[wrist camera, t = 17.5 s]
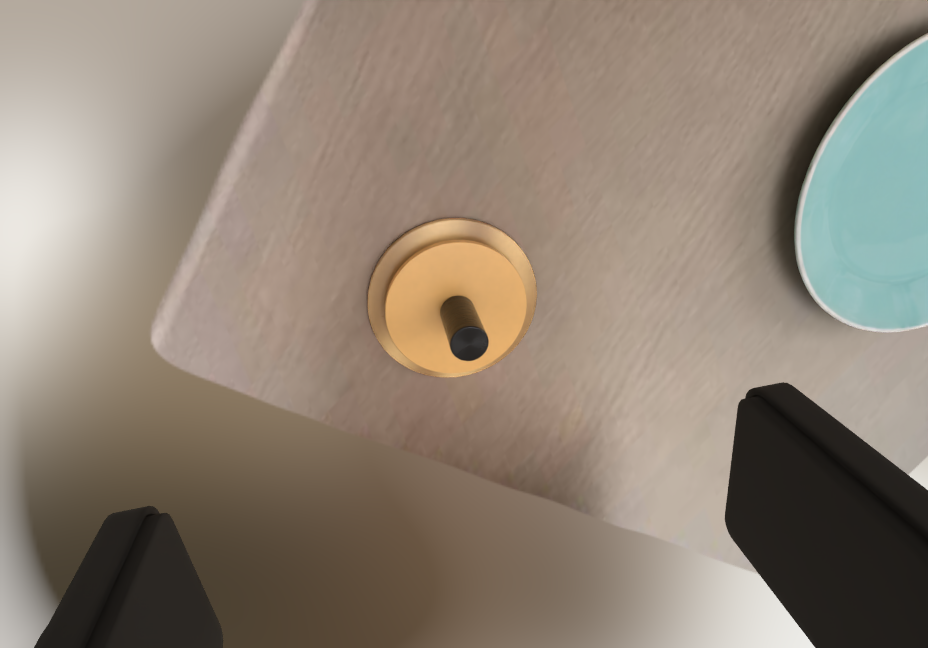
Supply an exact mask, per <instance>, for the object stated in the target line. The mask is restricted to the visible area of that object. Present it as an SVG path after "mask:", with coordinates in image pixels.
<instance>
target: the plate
mask: <svg viewBox="0 0 928 648" xmlns="http://www.w3.org/2000/svg"><path fill="white" fill-rule="evenodd" d="M794 244H795V255H796V260H797V265H798V269H799V272H800V275H801V277H802V280H803V282H804V284H805V286H806V288H807V290H808V292H809V293H810V295H811V296H812V297H813V299H814V300H815V302H816V303H817V304H818V305H819V306H820V307H821V308H822V309H823V310H824V311H826V312H827V313H828V314H829V315H831V316H832V317H834V318H835V319H837V320H838V321H840V322H842V323H844V324H846V325H849V326H851V327H854V328H857V329H861V330H865V331H871V332H883V333H886V332H902V331H908V330H913V329H917V328H921V327H925V326H928V33H927V34H925V35H923V36H921V37H919V38H918V39H916V40H914V41H913V42H911V43H910V44H908V45H907V46H905V47H904V48H903V49H901V50H900V51H898V52H897V53H896V54H894V55H893V56H892V57H891V58H889V59H888V60H887V61H886V62H885V63H884V64H882V65H881V66H880V67H879V68H878V69H877V70H876V71H875V72H874V73H873V74H872V75H871V76H869V77H868V78H867V80H866V81H865V82H864V83H863V84H862V85H861V86H860V87H859V88H858V89H857V90H856V91H855V93H854V94H853V95H852V96H851V97H850V99H849V100H848V101H847V102H846V104H845V105H844V106H843V108H842V109H841V110H840V112H839V113H838V115H837V116H836V118H835V119H834V121H833V122H832V124H831V125H830V127H829V129H828V130H827V132H826V134H825V135H824V137H823V139H822V140H821V142H820V144H819V146H818V148H817V150H816V152H815V154H814V156H813V159H812V161H811V163H810V166H809V168H808V171H807V173H806V176H805V180H804V182H803V185H802V188H801V192H800V196H799V200H798V205H797V210H796V217H795V227H794Z"/></svg>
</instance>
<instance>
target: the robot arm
mask: <svg viewBox="0 0 928 648" xmlns="http://www.w3.org/2000/svg"><path fill="white" fill-rule="evenodd" d="M725 522H726V526H727V529H728V532H729V534H730V536H731V537H732V539H733V540H734V542H735V543H736V544H737V546H738V547H739V548H740V550H741V551H742V552H743V554H744V555H745V556H746V557H747V559H748V560H749V561H750V563H751V564H752V565H753V567H754V568H755V569H756V571H757V572H758V573H759V574H760V576H761V577H762V578H763V579H764V581H765V582H766V583H767V585H768V586H769V587H770V589H771V590H772V591H773V593H774V594H775V595H776V597H777V598H778V599H779V601H780V602H781V603H782V604H783V606H784V607H785V608H786V610H787V611H788V612H789V614H790V615H791V616H792V618H793V619H794V620H795V622H796V623H797V624H798V625H799V627H800V628H801V629H802V631H803V632H804V633H805V634H806V636H807V637H808V639H809V640H810V641H811V642H812V644H813V645H814V646H815V648H928V490H926V489H925V488H924V487H923V486H921V485H920V484H919V483H918V482H916V481H915V480H914V479H912V478H911V477H910V476H909V475H907V474H906V473H905V472H903V471H902V470H901V469H899V468H898V467H897V466H896V465H894V464H893V463H892V462H890V461H889V460H888V459H887V458H885V457H884V456H883V455H881V454H880V453H879V452H877V451H876V450H875V449H874V448H872V447H871V446H870V445H868V444H867V443H866V442H865V441H863V440H862V439H861V438H859V437H858V436H857V435H856V434H854V433H853V432H852V431H850V430H849V429H848V428H846V427H845V426H844V425H843V424H841V423H840V422H839V421H837V420H836V419H835V418H834V417H832V416H831V415H830V414H828V413H827V412H826V411H825V410H823V409H822V408H821V407H819V406H818V405H817V404H815V403H814V402H813V401H812V400H810V399H809V398H808V397H806V396H805V395H804V394H803V393H801V392H800V391H799V390H797V389H796V388H795V387H793V386H792V385H790V384H788V383H777V384H772V385H767V386H762V387H757V388H753V389H750V390H749V391H748V392H747V394H746V398H745V399H743V400H741V401H740V402H739V405H738V411H737V419H736V427H735V436H734V444H733V453H732V461H731V469H730V478H729V486H728V494H727V503H726V511H725ZM34 648H223V635H222V630H221V626H220V623H219V621H218V619H217V617H216V615H215V612H214V610H213V608H212V606H211V604H210V602H209V599H208V597H207V595H206V593H205V590H204V588H203V586H202V584H201V581H200V579H199V577H198V575H197V573H196V570H195V568H194V566H193V564H192V562H191V560H190V557H189V555H188V553H187V551H186V548H185V546H184V544H183V542H182V539H181V537H180V535H179V533H178V531H177V528H176V526H175V524H174V522H173V520H172V518H171V516H170V515H169V514H167V513H162V514H160V513H159V512H158V510H157V509H156V508H155V507H153V506H147V507H142V508H137V509H132V510H127V511H122V512H117V513H113V514H111V515H109V516H108V517H107V518H106V520H105V521H104V523H103V524H102V526H101V528H100V530H99V532H98V534H97V536H96V537H95V540H94V541H93V543H92V545H91V547H90V548H89V551H88V552H87V554H86V556H85V558H84V560H83V561H82V563H81V565H80V567H79V569H78V571H77V572H76V574H75V576H74V578H73V580H72V582H71V584H70V585H69V587H68V589H67V591H66V593H65V595H64V597H63V598H62V600H61V602H60V604H59V606H58V608H57V609H56V611H55V613H54V615H53V617H52V619H51V621H50V622H49V624H48V626H47V627H46V629H45V630H44V631H43V633H42V634H41V636H40V638H39V639H38V641H37V643H36V645H35V647H34Z"/></svg>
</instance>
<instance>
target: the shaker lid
mask: <svg viewBox="0 0 928 648" xmlns="http://www.w3.org/2000/svg"><path fill="white" fill-rule="evenodd" d="M526 307H527V300H526V292H525V287H524V284H523V281H522V279H521V277H520V275H519V273H518V272H517V270H516V269H515V267H514V266H513V265H512V263H511V262H510V261H509V260H508V259H507V258H506V257H505V256H504V255H503V254H501V253H500V252H499V251H497V250H495V249H494V248H492V247H490V246H488V245H485V244H483V243H479V242H475V241H470V240H448V241H443V242H439V243H435V244H433V245H430V246H428V247H425V248H424V249H422V250H420V251H418V252H417V253H415V254H414V255H413V256H411V257H410V258H409V259H408V260H407V261H406V262H405V263H404V264H403V265H402V266H401V267H400V268H399V270H398V271H397V272H396V274H395V275H394V277H393V279H392V281H391V283H390V285H389V288H388V291H387V295H386V300H385V319H386V325H387V328H388V332H389V334H390V336H391V339H392V341H393V342H394V344H395V345H396V347H397V348H398V349H399V351H400V352H401V353H402V354H403V355H404V356H405V357H407V358H408V359H409V360H410V361H412V362H413V363H415V364H417V365H419V366H421V367H423V368H425V369H428V370H431V371H435V372H441V373H462V372H468V371H472V370H475V369H478V368H480V367H483V366H485V365H487V364H489V363H491V362H493V361H494V360H495V359H497V358H498V357H500V356H501V355H502V354H503V353H504V352H505V351H506V350H507V349H508V348H509V347H510V346H511V345H512V344H513V342H514V341H515V339H516V338H517V336H518V334H519V332H520V330H521V328H522V325H523V323H524V319H525V315H526Z"/></svg>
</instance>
